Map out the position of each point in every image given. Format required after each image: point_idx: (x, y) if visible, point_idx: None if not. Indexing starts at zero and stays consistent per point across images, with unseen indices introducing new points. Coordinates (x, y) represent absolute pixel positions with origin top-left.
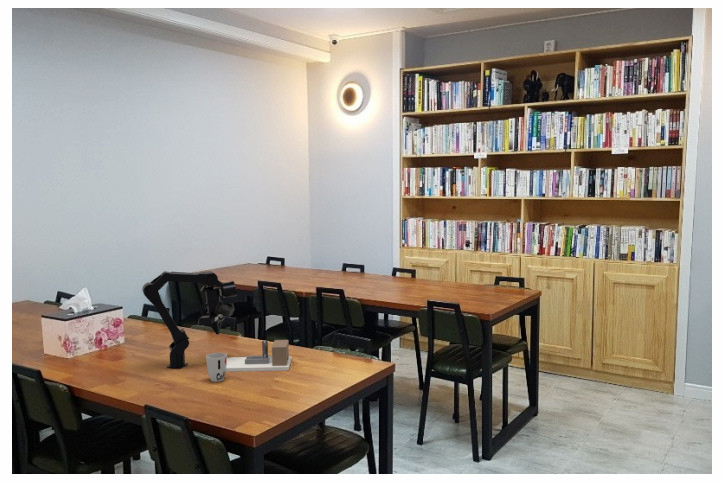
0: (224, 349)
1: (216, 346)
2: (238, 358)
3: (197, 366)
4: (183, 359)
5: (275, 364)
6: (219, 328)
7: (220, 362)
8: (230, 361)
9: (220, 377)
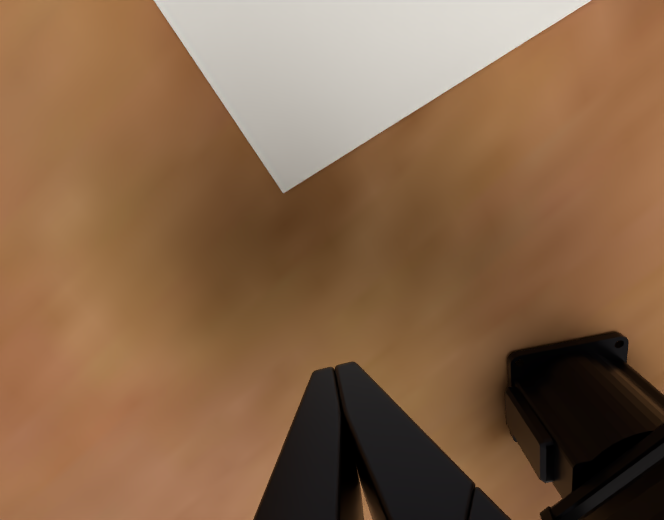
0: (38, 407)
1: (31, 496)
2: (222, 4)
3: (516, 267)
4: (591, 385)
5: None
6: (332, 471)
7: None
8: (365, 7)
9: None
